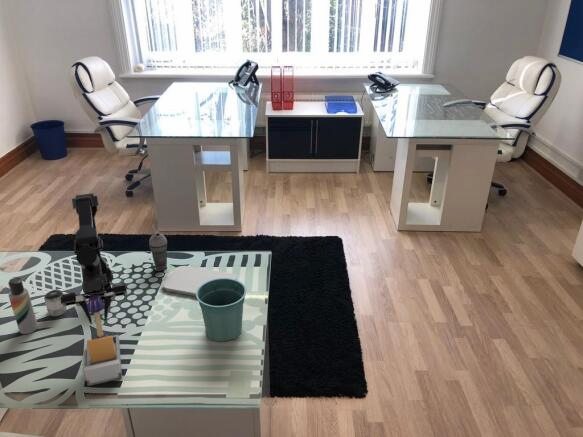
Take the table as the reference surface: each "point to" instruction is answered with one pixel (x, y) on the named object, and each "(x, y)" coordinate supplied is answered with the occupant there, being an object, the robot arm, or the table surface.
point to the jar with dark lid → (54, 303)
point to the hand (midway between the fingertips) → (98, 322)
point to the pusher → (101, 349)
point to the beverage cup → (159, 250)
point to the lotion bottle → (22, 306)
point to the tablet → (191, 279)
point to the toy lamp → (96, 313)
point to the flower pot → (222, 307)
